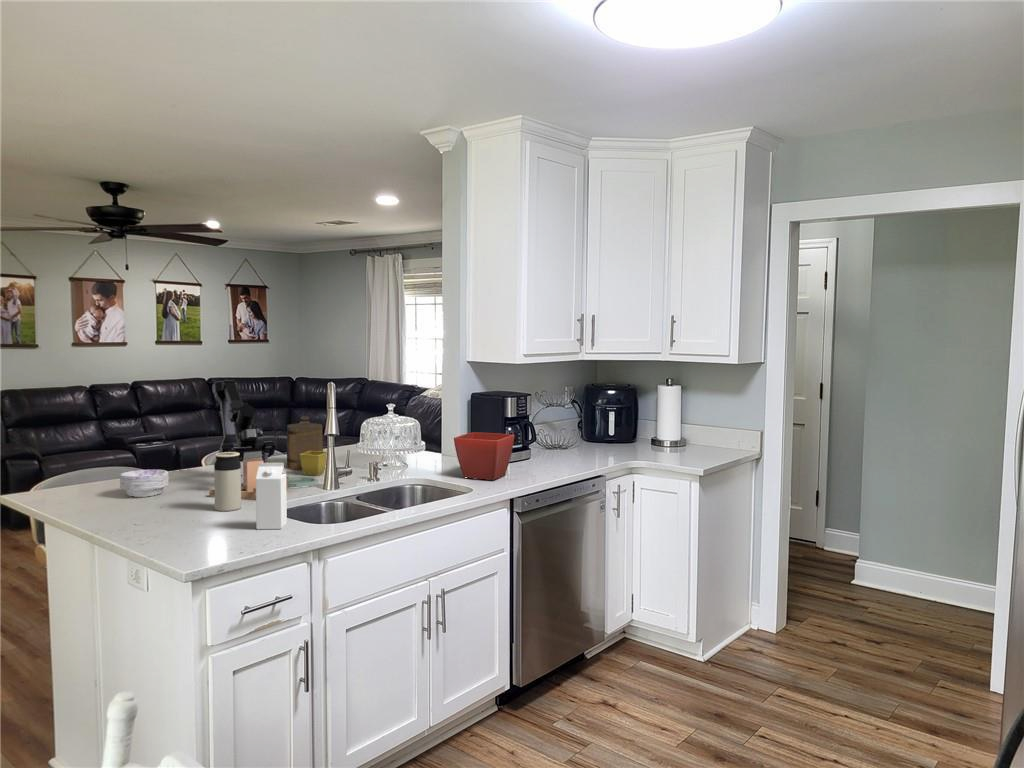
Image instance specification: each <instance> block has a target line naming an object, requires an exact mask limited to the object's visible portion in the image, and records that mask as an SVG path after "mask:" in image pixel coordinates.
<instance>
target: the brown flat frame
mask: <svg viewBox="0 0 1024 768" xmlns="http://www.w3.org/2000/svg"><path fill="white" fill-rule="evenodd" d="M289 478H290V477H289V476H286V488H288V487H289ZM241 488H243V482H241ZM288 489H289V488H288ZM208 494H209V495H208V496H209V497H210V498H215V488H210V489H209V493H208ZM241 500H246V501H247V500H249V501H256V488H253V492H247V491H241Z"/></svg>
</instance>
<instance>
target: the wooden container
mask: <svg viewBox="0 0 1024 768" xmlns="http://www.w3.org/2000/svg"><path fill="white" fill-rule="evenodd" d="M309 420H310V417H309V416H308V415H303V416H301V417H300V422H299V423H292V424H291V423H290V424H287V425H286V467H287V469H288V468H289V470H292V469H296V470H295V471H303V470H302V467H301V461H300V454H302V453H305V452H307V451H324V440H323V438H324V437H323V425H322V423H315V422H310V421H309Z"/></svg>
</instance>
